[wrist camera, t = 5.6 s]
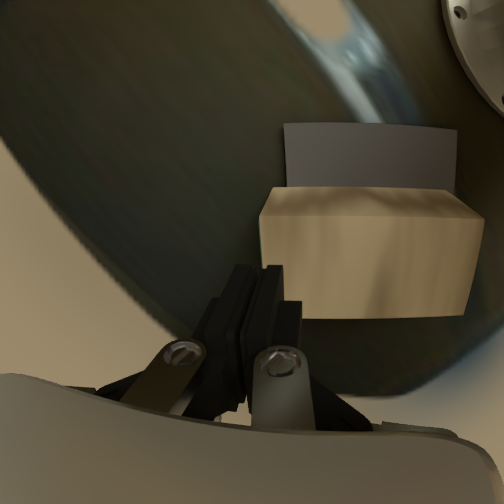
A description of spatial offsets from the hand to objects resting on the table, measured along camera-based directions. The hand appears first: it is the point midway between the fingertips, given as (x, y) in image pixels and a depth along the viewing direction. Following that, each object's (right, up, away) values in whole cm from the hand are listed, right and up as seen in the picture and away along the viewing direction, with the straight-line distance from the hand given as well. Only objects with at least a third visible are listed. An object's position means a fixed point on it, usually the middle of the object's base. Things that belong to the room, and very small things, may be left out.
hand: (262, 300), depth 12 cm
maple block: (0, +2, +5) cm, 5 cm away
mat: (+7, +3, +6) cm, 9 cm away
